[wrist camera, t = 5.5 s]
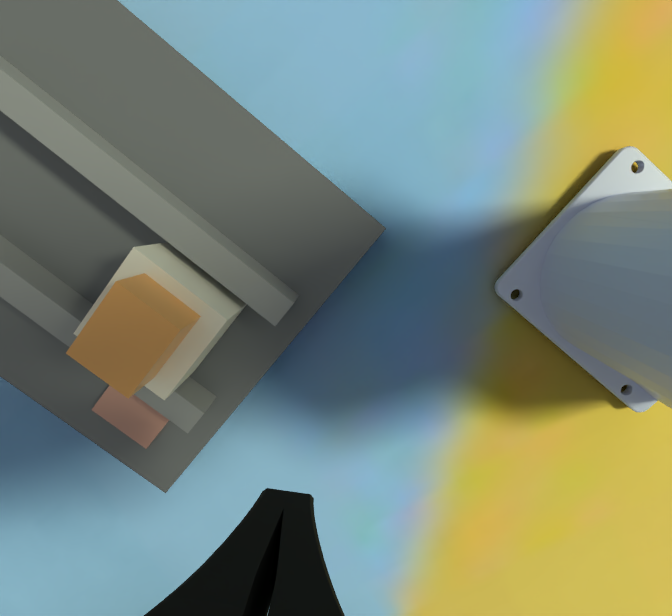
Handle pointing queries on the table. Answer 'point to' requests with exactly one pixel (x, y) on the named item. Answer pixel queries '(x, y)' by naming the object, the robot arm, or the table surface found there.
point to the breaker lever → (154, 322)
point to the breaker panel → (148, 220)
